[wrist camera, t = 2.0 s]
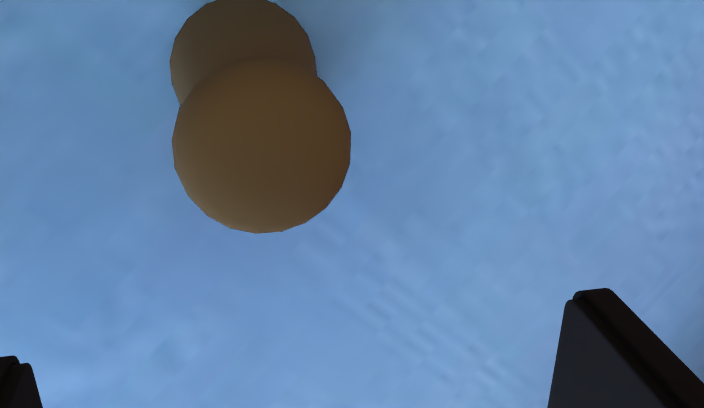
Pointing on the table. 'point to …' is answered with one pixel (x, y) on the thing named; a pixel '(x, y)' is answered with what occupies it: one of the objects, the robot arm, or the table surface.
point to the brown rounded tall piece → (255, 118)
